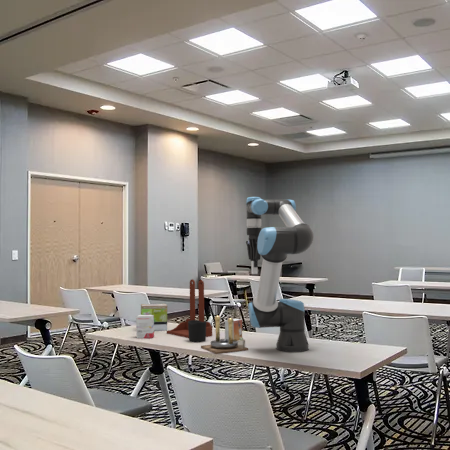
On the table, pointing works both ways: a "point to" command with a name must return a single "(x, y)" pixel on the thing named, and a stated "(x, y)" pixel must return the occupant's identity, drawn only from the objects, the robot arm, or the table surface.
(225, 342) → the brass post metal stand
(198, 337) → the pen holder
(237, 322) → the small box
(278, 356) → the table surface
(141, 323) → the ink box
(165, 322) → the tea box
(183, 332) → the dustpan and brush
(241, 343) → the stand
